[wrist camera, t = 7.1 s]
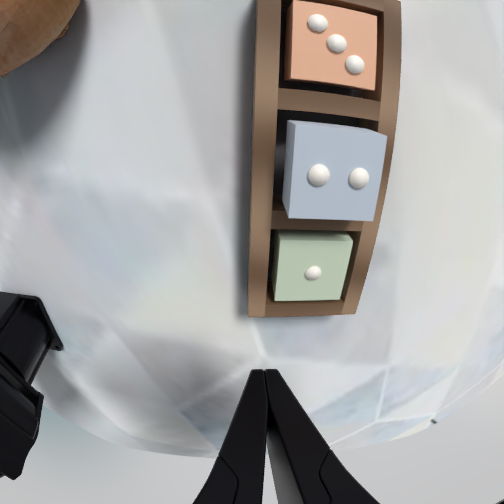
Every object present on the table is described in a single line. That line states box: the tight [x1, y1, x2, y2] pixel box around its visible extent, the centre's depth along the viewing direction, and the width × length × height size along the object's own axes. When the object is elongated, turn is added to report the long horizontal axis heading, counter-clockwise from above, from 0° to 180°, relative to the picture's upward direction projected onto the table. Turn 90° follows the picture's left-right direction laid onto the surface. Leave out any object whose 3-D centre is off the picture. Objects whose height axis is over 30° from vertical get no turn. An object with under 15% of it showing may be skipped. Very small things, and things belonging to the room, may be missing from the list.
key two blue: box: [282, 120, 387, 221], centre depth 13 cm, size 4×4×2 cm
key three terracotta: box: [284, 0, 377, 90], centre depth 11 cm, size 4×4×2 cm
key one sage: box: [271, 229, 353, 301], centre depth 17 cm, size 4×4×2 cm
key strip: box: [247, 0, 401, 317], centre depth 14 cm, size 19×7×2 cm, turn 178°
